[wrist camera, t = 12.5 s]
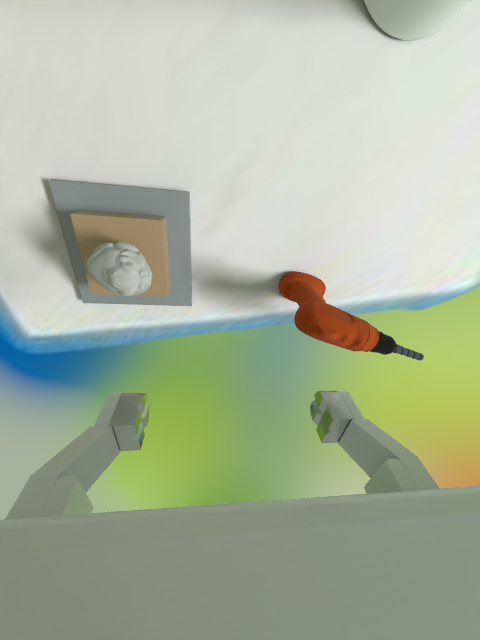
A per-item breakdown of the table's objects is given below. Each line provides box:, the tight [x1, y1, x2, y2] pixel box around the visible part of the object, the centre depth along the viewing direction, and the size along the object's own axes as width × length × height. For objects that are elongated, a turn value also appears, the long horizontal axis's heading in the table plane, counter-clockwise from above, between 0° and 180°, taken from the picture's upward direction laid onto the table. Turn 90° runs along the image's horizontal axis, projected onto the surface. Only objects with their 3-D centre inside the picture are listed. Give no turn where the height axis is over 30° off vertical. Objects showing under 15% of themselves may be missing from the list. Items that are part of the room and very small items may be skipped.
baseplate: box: [48, 179, 192, 306], centre depth 32 cm, size 16×16×4 cm
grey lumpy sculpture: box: [86, 241, 152, 296], centre depth 27 cm, size 6×7×7 cm
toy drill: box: [279, 272, 424, 360], centre depth 34 cm, size 5×19×15 cm, turn 70°
